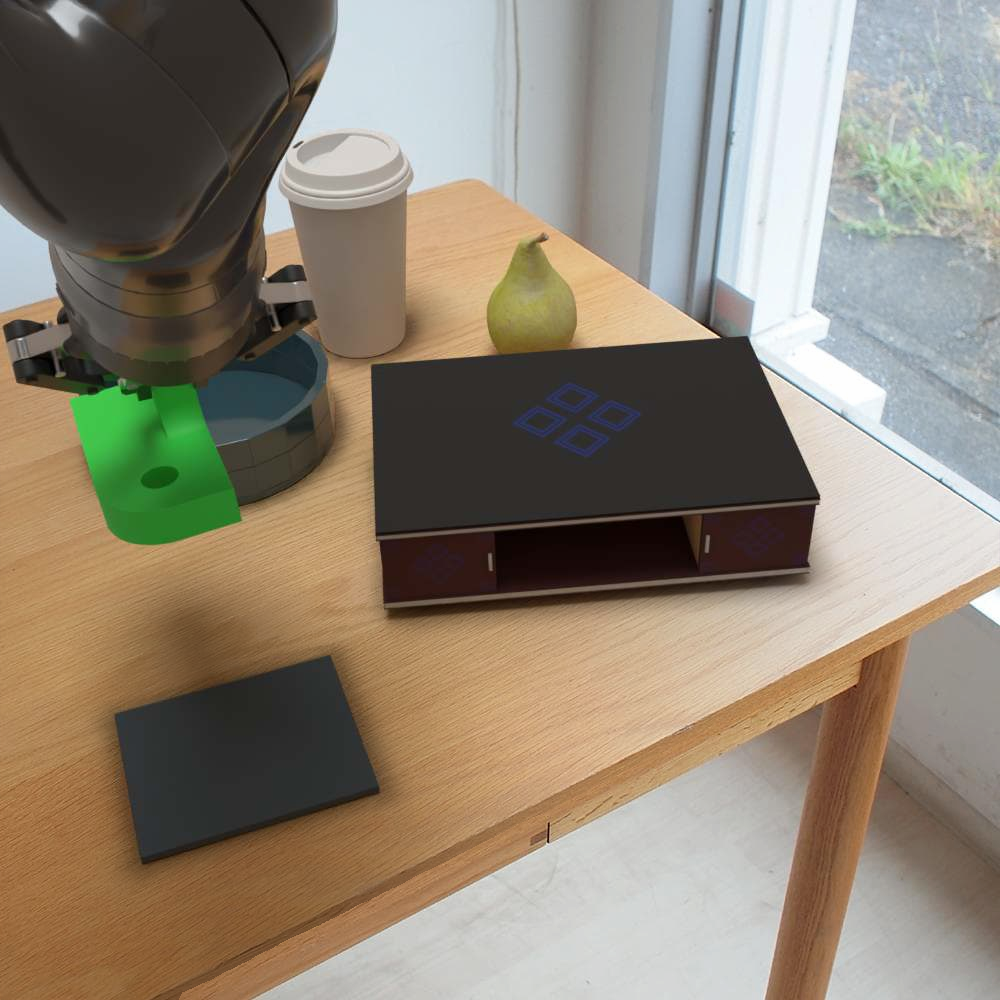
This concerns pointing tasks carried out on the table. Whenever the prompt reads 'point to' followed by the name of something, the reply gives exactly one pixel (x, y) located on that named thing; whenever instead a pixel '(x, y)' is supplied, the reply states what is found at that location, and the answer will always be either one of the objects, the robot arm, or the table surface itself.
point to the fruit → (531, 304)
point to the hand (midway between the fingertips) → (167, 374)
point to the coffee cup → (352, 235)
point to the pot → (270, 416)
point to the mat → (241, 757)
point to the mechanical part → (154, 465)
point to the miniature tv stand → (584, 473)
